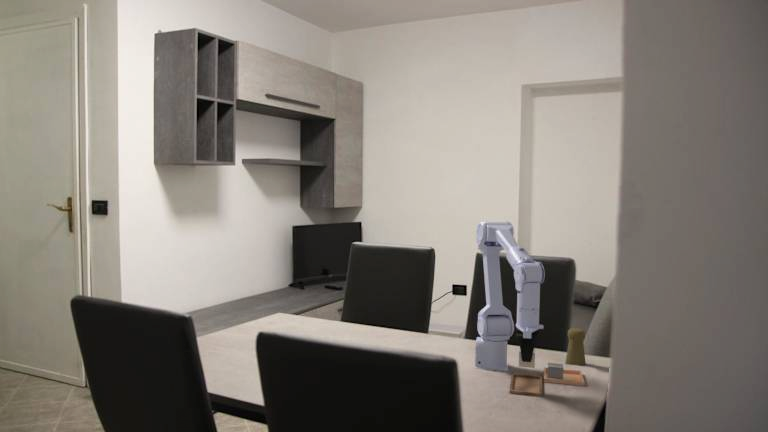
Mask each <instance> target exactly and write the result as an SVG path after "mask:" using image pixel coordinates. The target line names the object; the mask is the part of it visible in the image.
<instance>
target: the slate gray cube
mask: <svg viewBox="0 0 768 432" xmlns="http://www.w3.org/2000/svg"><path fill="white" fill-rule="evenodd" d="M547 368H548V378H553V379H563V369H564V364H563V363H556V362H547Z"/></svg>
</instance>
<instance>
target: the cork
mask: <svg viewBox="0 0 768 432" xmlns="http://www.w3.org/2000/svg"><path fill="white" fill-rule="evenodd" d="M567 338H568V347H567V351H566V357H565V365H568V366H569V365H570V366H578V367H579V366H580V367H582V366H583V367H586V365H587V364H586V356H585V355H586V354H585V347H584V346H585V344H584V340H585V339H586V332H585V331H584V330H583V329H582V328H578V327H577V328H576V327H574V328H573V327H572V328H569V329H568V330H567Z"/></svg>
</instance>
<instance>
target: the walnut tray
mask: <svg viewBox="0 0 768 432" xmlns="http://www.w3.org/2000/svg"><path fill="white" fill-rule="evenodd" d="M509 394H511V395H512V394H513V395H521V396H529V397H530V396H531V397H542V398H543V377H542V375H538V374H537V375H536V374H524V373H516V372H515V373H514V372H512V373H511V377H510V385H509Z"/></svg>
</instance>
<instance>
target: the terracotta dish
mask: <svg viewBox="0 0 768 432" xmlns="http://www.w3.org/2000/svg"><path fill="white" fill-rule="evenodd" d="M542 369H543V383H551V384H562V385H571V386H579V387H585V379H584V375H583V372H582V370H579V369H578V370H577V369H567V368H566V369H565V368H563V379H553V378H548V366H547V367H544V366H543V368H542Z"/></svg>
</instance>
